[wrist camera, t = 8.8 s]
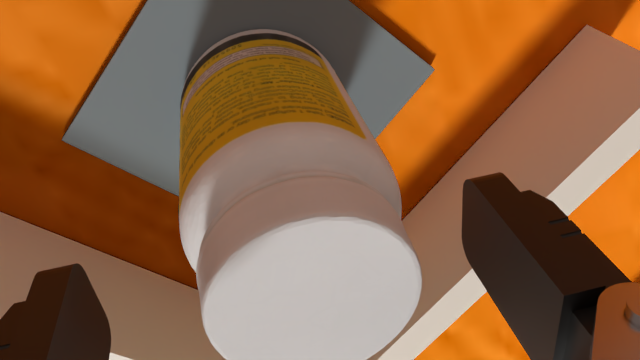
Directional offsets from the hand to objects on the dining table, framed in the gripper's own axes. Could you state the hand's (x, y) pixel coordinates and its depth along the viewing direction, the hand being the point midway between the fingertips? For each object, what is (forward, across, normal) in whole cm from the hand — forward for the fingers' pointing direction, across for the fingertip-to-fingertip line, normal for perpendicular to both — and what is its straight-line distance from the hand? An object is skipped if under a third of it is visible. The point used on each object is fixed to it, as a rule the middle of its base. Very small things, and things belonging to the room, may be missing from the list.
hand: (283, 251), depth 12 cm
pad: (+7, 0, -1) cm, 7 cm away
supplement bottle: (+6, 0, 0) cm, 7 cm away
